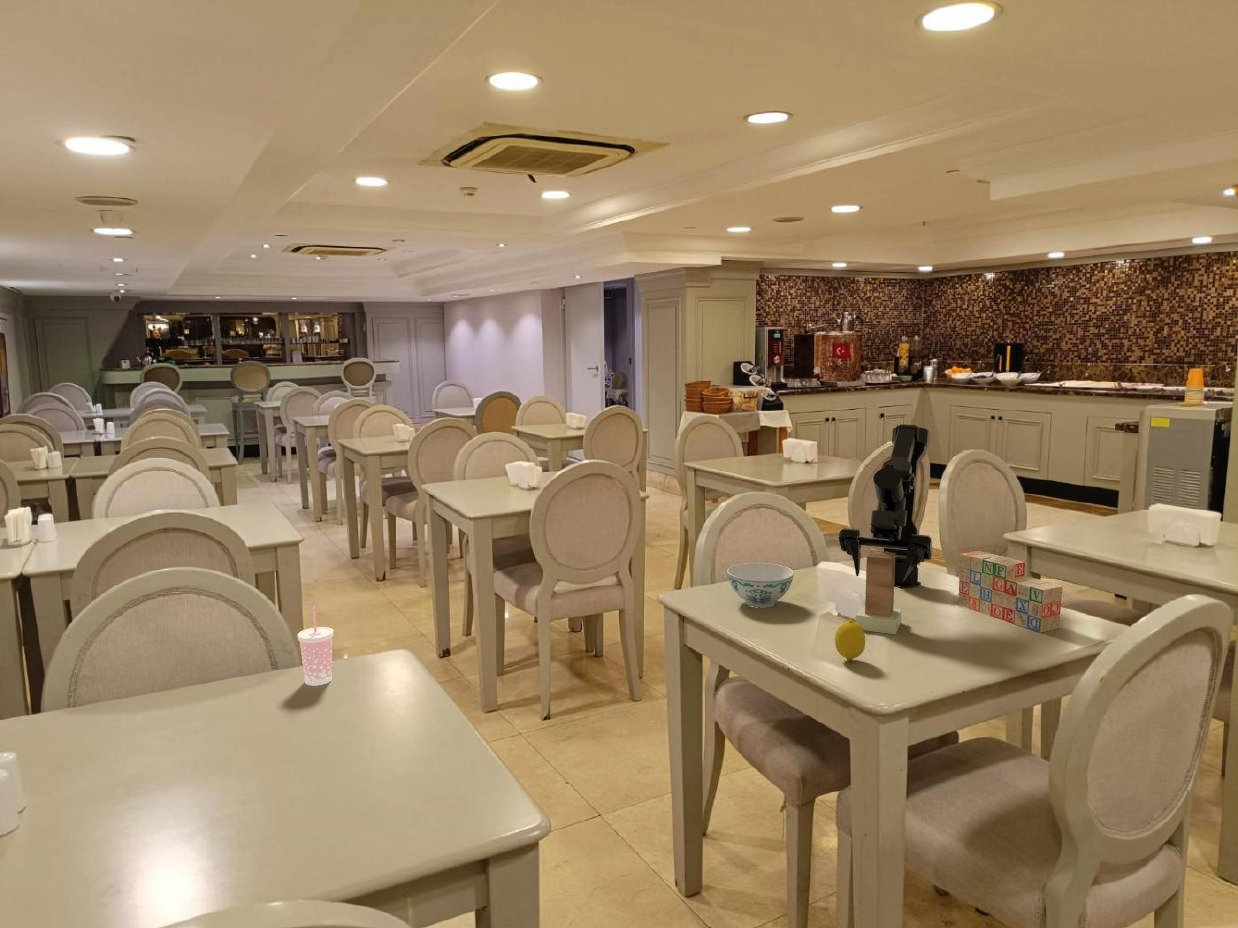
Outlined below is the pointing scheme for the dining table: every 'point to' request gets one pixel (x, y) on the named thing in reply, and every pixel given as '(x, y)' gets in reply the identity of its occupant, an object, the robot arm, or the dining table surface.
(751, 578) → the chinaware
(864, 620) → the base slab
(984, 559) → the stack of blocks
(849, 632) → the lemon
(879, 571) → the pillar
